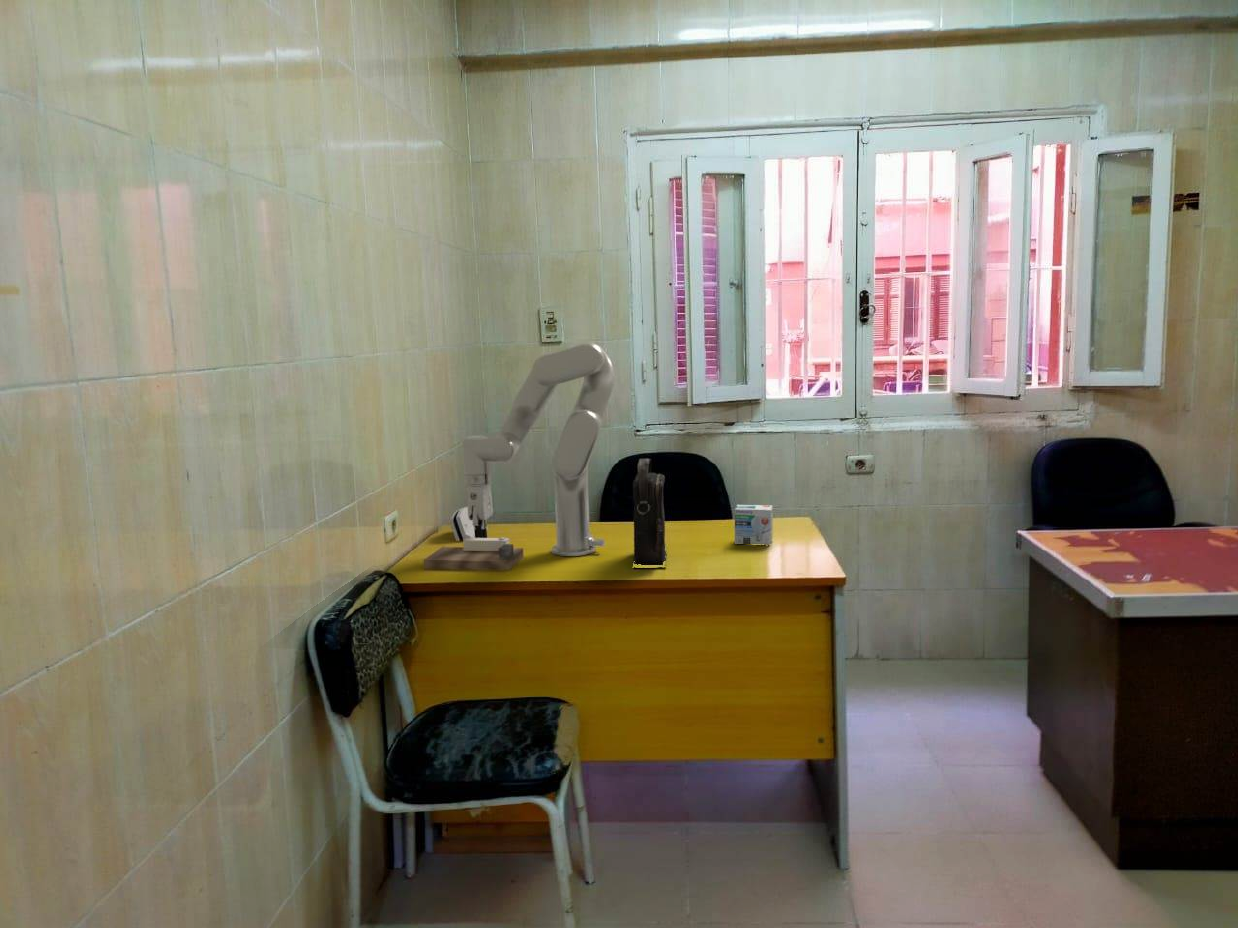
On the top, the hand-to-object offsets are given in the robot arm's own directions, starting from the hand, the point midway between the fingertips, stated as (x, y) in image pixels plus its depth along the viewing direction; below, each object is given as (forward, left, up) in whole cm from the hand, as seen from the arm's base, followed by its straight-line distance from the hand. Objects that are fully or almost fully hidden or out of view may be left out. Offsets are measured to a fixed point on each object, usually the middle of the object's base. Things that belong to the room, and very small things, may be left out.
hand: (481, 542), depth 252 cm
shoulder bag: (-49, +1, -4) cm, 49 cm away
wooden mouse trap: (-1, +9, -4) cm, 10 cm away
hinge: (+12, -22, -4) cm, 26 cm away
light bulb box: (-77, -18, -4) cm, 79 cm away
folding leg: (-3, +5, -1) cm, 6 cm away
